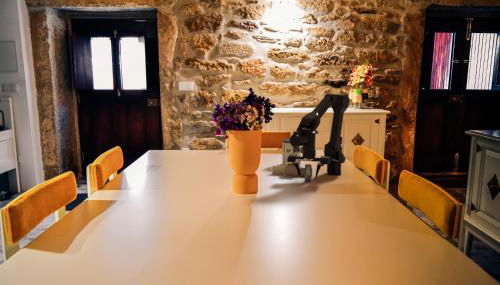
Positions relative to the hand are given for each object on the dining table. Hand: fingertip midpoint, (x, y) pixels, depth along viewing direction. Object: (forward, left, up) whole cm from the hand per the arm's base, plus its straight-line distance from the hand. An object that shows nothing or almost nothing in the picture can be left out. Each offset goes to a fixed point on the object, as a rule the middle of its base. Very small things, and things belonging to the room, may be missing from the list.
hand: (308, 177), depth 170 cm
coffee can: (+13, -30, -2) cm, 33 cm away
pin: (0, 0, -2) cm, 2 cm away
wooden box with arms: (+9, -10, -2) cm, 13 cm away
